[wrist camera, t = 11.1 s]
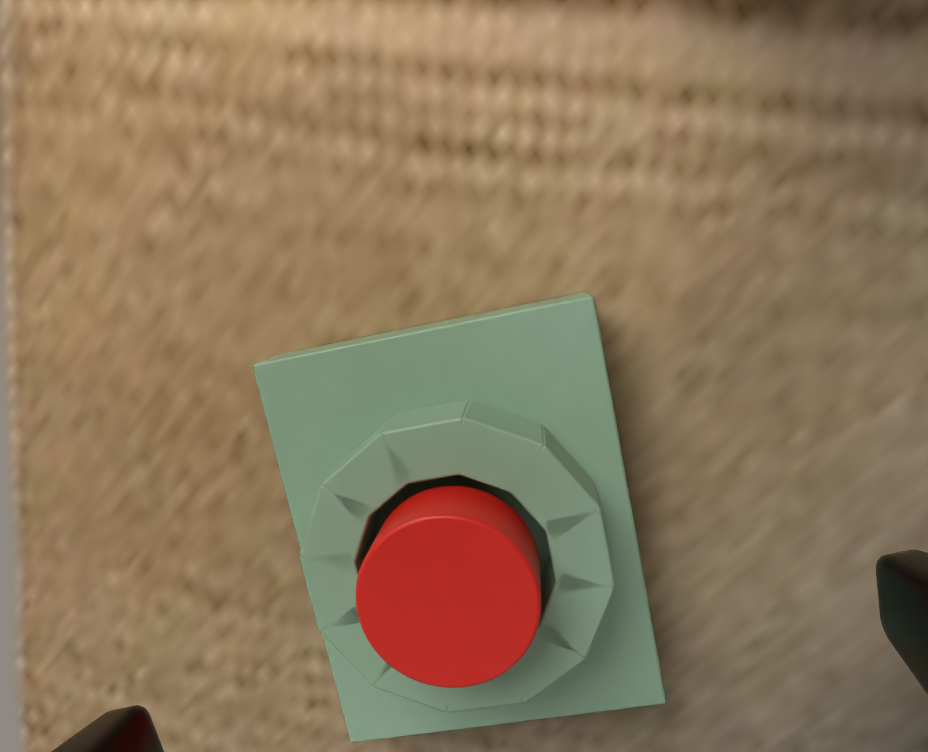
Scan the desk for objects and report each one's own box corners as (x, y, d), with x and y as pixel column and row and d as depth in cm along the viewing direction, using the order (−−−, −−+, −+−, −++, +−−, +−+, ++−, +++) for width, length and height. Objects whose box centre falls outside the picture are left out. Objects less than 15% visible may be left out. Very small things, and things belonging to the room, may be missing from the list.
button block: (653, 662, 18) (684, 759, 14) (365, 701, 19) (329, 800, 15) (587, 291, 16) (602, 300, 13) (277, 354, 17) (215, 377, 14)
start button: (553, 627, 15) (557, 676, 13) (394, 650, 15) (377, 700, 13) (522, 471, 14) (521, 500, 12) (357, 499, 14) (334, 531, 13)
